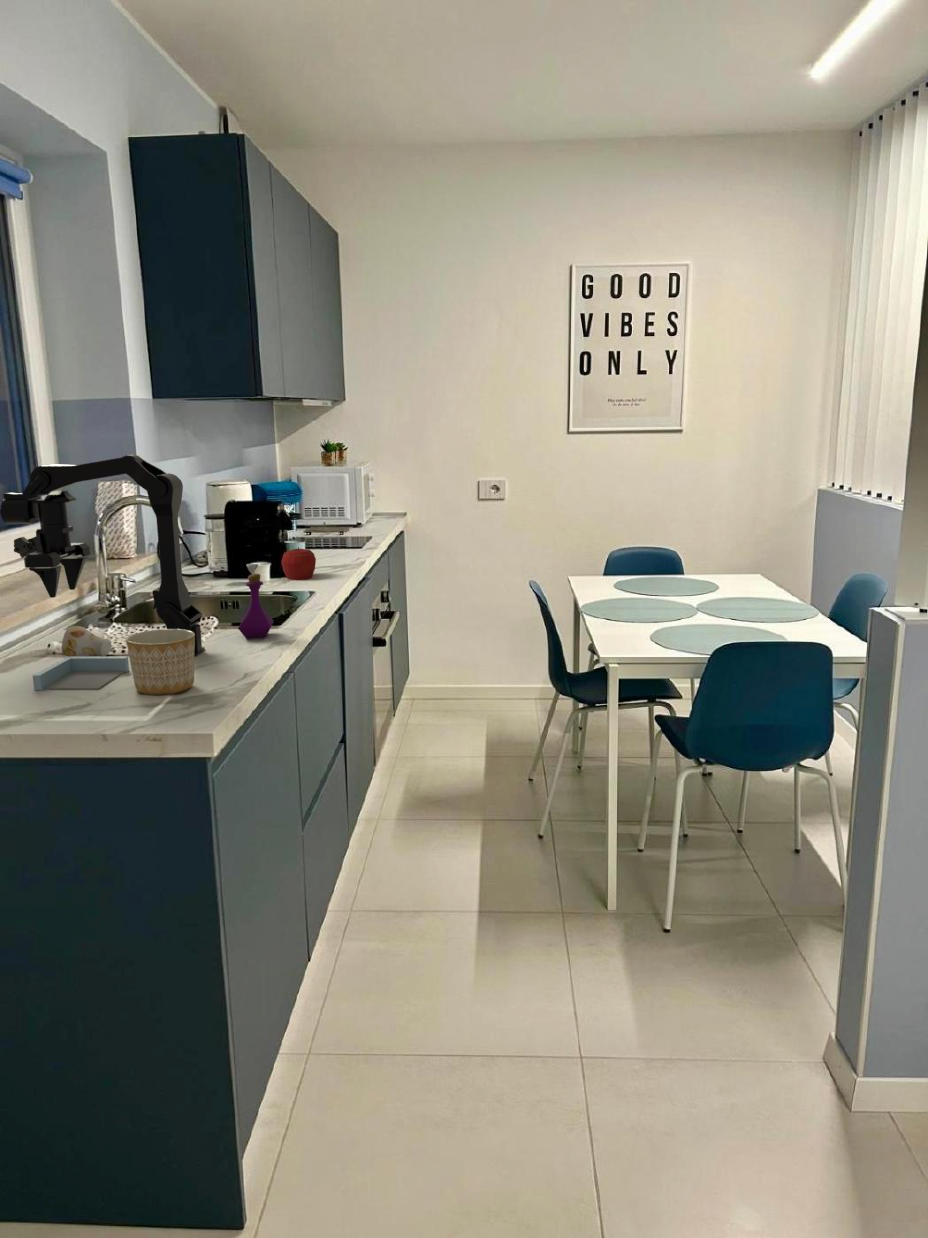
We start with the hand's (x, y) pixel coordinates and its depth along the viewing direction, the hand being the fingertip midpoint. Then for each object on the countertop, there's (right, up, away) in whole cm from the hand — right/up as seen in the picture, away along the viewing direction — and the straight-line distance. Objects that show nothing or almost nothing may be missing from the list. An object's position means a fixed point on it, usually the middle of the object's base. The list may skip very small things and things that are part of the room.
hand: (62, 593), depth 207 cm
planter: (+31, -19, -24) cm, 44 cm away
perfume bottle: (+39, -10, +16) cm, 44 cm away
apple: (+37, +5, +89) cm, 96 cm away
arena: (+12, -18, -18) cm, 28 cm away
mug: (+9, -15, -1) cm, 18 cm away
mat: (+13, -18, -19) cm, 29 cm away
